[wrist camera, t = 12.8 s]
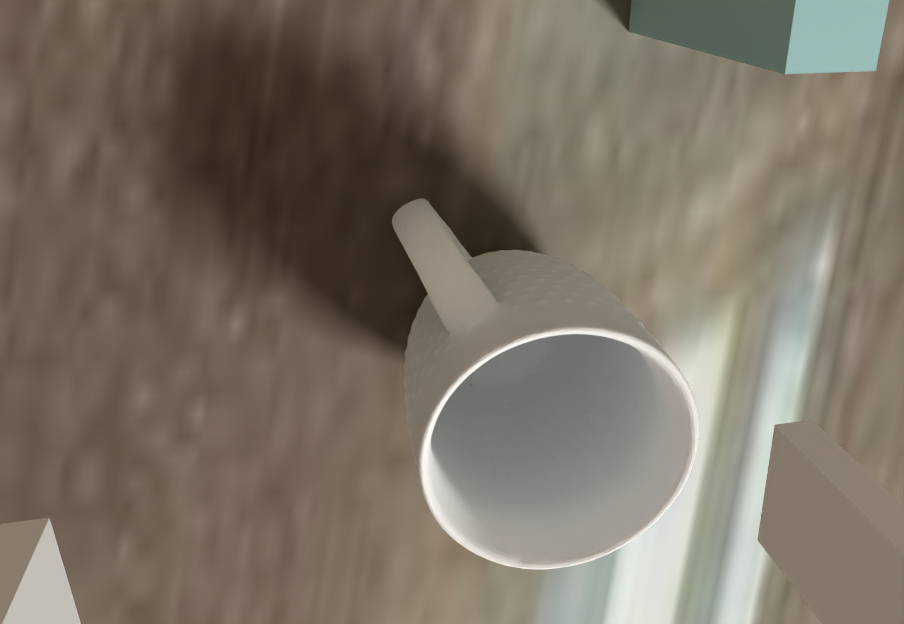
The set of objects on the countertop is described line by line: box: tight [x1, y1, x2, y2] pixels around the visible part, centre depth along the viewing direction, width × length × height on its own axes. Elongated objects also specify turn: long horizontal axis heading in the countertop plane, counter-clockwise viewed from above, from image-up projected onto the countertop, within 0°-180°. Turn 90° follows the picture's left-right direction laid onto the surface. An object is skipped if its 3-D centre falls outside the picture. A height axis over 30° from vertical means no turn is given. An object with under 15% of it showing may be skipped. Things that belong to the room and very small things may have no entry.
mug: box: [392, 199, 699, 569], centre depth 36 cm, size 15×11×13 cm
